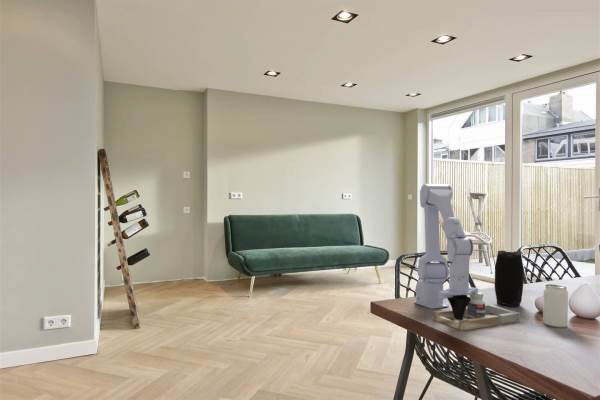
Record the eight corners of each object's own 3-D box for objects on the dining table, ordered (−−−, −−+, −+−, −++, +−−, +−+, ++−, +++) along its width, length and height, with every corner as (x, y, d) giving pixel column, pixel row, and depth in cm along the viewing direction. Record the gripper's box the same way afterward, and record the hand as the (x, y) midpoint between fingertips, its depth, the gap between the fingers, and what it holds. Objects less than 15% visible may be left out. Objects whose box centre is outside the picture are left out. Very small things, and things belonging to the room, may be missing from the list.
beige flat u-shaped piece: (433, 319, 131) (433, 311, 131) (467, 314, 137) (468, 306, 137) (462, 330, 120) (462, 322, 120) (498, 324, 126) (498, 316, 126)
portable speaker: (490, 301, 154) (491, 250, 154) (514, 301, 154) (515, 250, 154) (501, 307, 145) (502, 253, 145) (527, 308, 145) (528, 253, 145)
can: (571, 328, 123) (572, 289, 123) (547, 327, 124) (548, 288, 124) (562, 322, 129) (562, 284, 129) (539, 320, 131) (540, 283, 131)
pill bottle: (477, 323, 127) (477, 295, 127) (463, 319, 132) (463, 291, 132) (488, 321, 129) (489, 293, 129) (474, 317, 134) (475, 290, 134)
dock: (471, 313, 138) (471, 306, 138) (488, 311, 141) (488, 303, 141) (501, 323, 127) (502, 315, 127) (519, 320, 130) (519, 313, 130)
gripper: (451, 280, 121) (450, 325, 121) (486, 276, 127) (485, 320, 127) (434, 275, 127) (433, 319, 127) (468, 272, 133) (467, 313, 133)
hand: (458, 319), depth 127 cm, fingers closed
